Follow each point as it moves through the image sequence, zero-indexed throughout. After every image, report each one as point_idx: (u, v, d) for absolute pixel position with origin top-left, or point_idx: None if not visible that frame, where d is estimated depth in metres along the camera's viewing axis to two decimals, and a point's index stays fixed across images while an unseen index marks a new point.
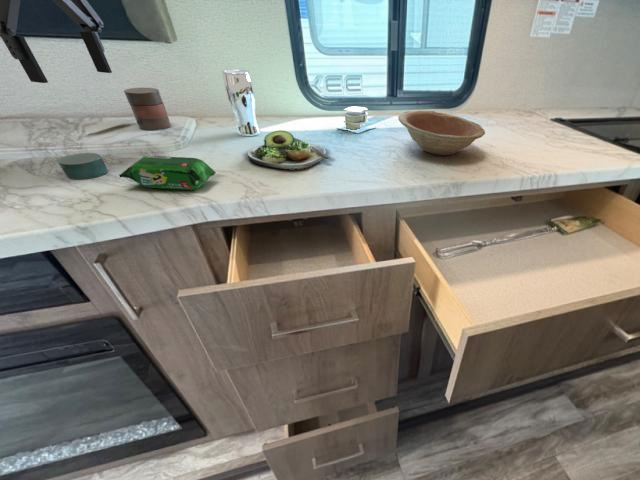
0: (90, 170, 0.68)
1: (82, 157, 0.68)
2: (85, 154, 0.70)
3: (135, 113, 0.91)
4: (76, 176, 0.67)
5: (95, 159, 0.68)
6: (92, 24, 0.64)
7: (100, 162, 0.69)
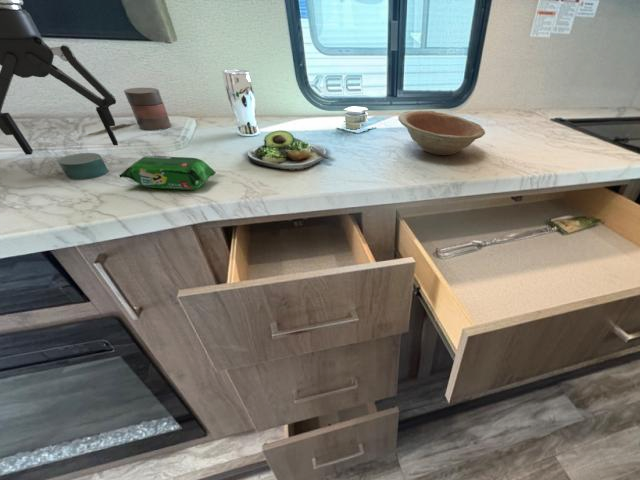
0: (90, 170, 0.68)
1: (82, 157, 0.68)
2: (85, 154, 0.70)
3: (135, 113, 0.91)
4: (76, 176, 0.67)
5: (95, 159, 0.68)
6: (99, 102, 0.64)
7: (100, 162, 0.69)
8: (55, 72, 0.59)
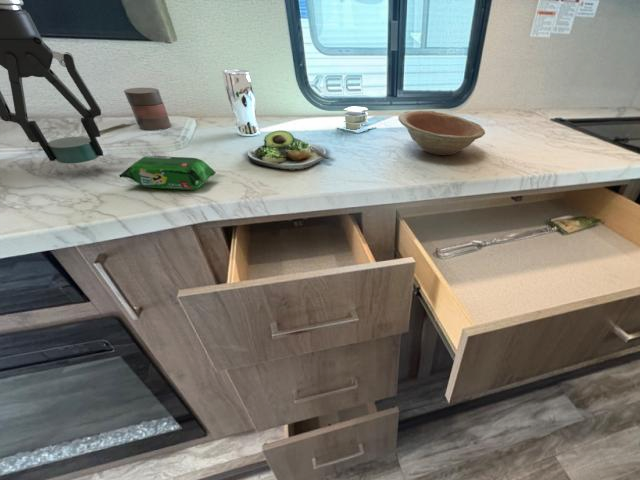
0: (80, 154, 0.66)
1: (72, 141, 0.67)
2: (75, 138, 0.68)
3: (135, 113, 0.91)
4: (66, 160, 0.65)
5: (85, 143, 0.66)
6: (85, 113, 0.64)
7: (91, 146, 0.67)
8: (50, 76, 0.59)
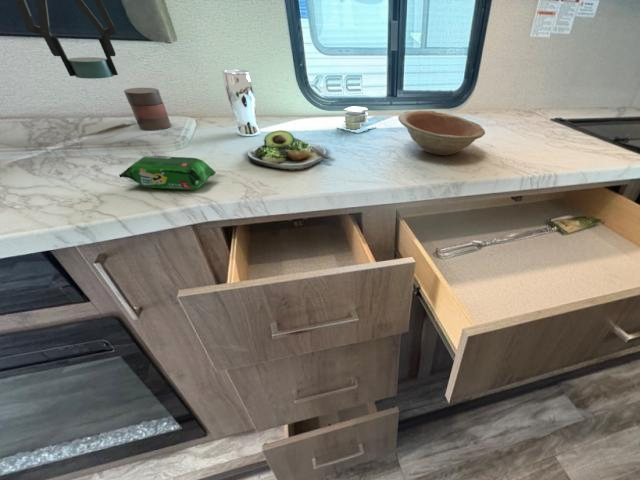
0: (97, 70, 0.71)
1: (90, 59, 0.72)
2: (93, 57, 0.73)
3: (135, 113, 0.91)
4: (84, 75, 0.71)
5: (102, 60, 0.72)
6: (102, 30, 0.70)
7: (107, 64, 0.73)
8: None
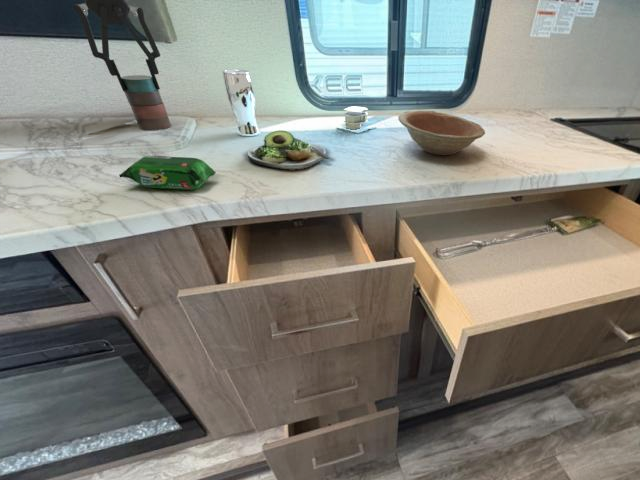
0: (145, 86, 0.88)
1: (138, 77, 0.89)
2: (140, 75, 0.91)
3: (135, 113, 0.91)
4: (135, 90, 0.88)
5: (148, 78, 0.89)
6: (149, 54, 0.87)
7: (152, 81, 0.90)
8: (128, 24, 0.82)
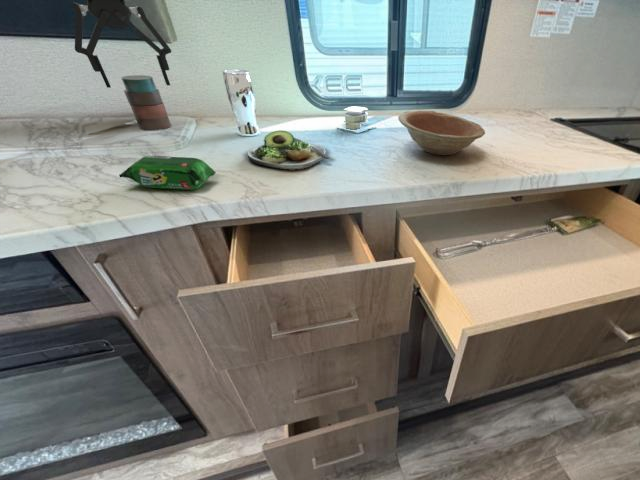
0: (145, 86, 0.88)
1: (138, 77, 0.89)
2: (140, 75, 0.91)
3: (135, 113, 0.91)
4: (135, 90, 0.88)
5: (148, 78, 0.89)
6: (160, 50, 0.88)
7: (152, 81, 0.90)
8: (132, 26, 0.82)
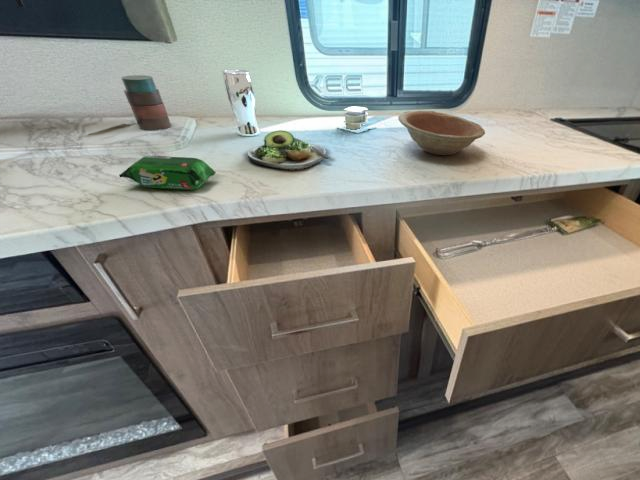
0: (145, 86, 0.88)
1: (138, 77, 0.89)
2: (140, 75, 0.91)
3: (135, 113, 0.91)
4: (135, 90, 0.88)
5: (148, 78, 0.89)
6: None
7: (152, 81, 0.90)
8: None
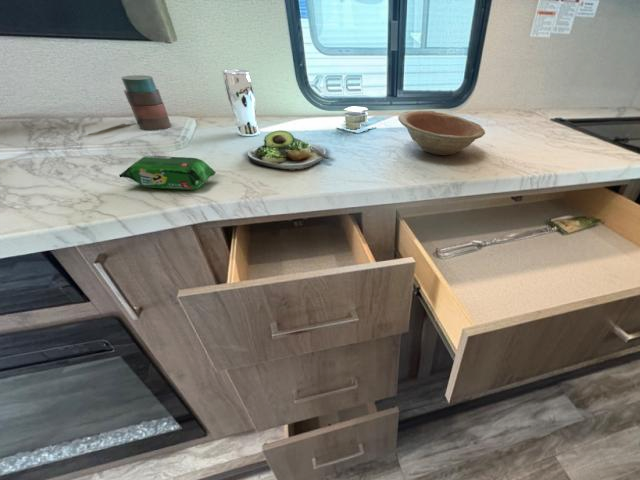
0: (145, 86, 0.88)
1: (138, 77, 0.89)
2: (140, 75, 0.91)
3: (135, 113, 0.91)
4: (135, 90, 0.88)
5: (148, 78, 0.89)
6: None
7: (152, 81, 0.90)
8: None
